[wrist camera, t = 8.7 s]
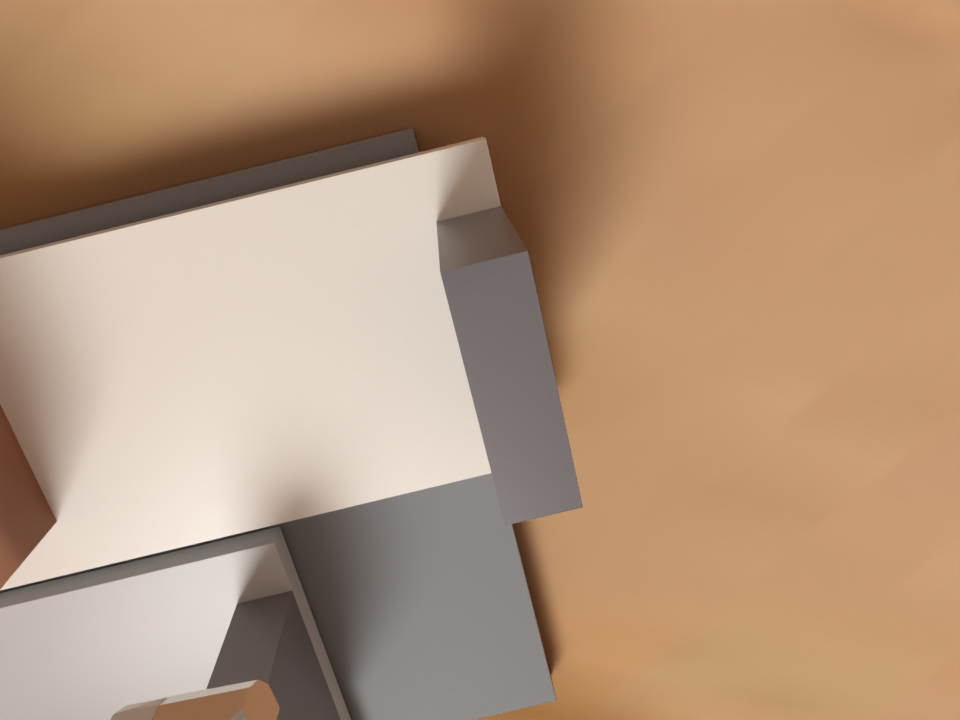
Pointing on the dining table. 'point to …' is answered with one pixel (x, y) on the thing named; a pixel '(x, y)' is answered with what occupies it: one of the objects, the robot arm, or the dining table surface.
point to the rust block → (18, 505)
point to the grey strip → (166, 634)
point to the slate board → (381, 529)
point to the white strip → (281, 361)
